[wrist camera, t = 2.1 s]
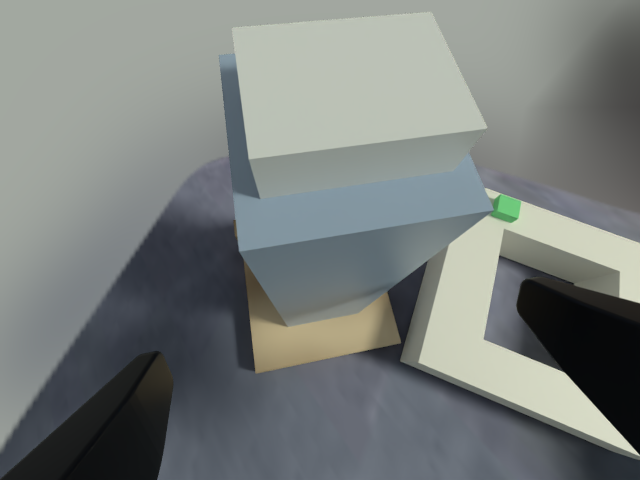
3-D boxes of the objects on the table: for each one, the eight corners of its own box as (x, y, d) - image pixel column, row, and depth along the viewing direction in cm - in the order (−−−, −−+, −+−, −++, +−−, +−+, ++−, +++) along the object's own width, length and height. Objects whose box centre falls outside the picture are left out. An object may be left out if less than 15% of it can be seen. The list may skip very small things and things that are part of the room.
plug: (357, 313, 17) (540, 174, 4) (287, 327, 16) (220, 223, 3) (342, 248, 18) (438, -21, 5) (277, 259, 18) (201, -5, 5)
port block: (613, 451, 16) (696, 478, 12) (399, 361, 17) (422, 362, 14) (618, 268, 20) (682, 250, 16) (443, 204, 21) (470, 175, 17)
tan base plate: (396, 343, 17) (413, 341, 14) (258, 372, 16) (249, 376, 14) (363, 220, 20) (372, 199, 17) (243, 239, 19) (233, 220, 16)
